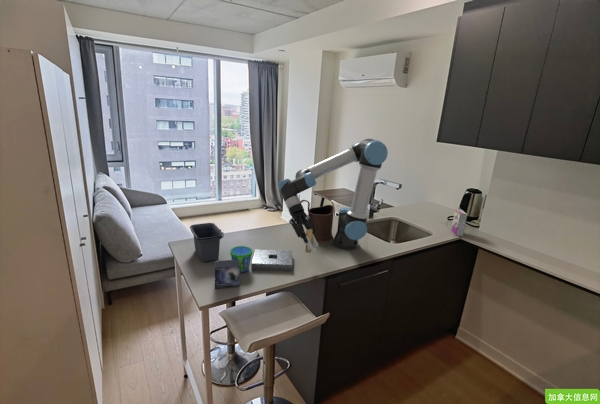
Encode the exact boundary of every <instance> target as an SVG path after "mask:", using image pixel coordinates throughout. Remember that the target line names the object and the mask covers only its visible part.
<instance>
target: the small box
mask: <svg viewBox="0 0 600 404" xmlns="http://www.w3.org/2000/svg"><path fill="white" fill-rule="evenodd" d="M237 287H238V288H239V287H240V264H239V260H232V259H229V260H227V259H226V260H216V261H215V260H214V288H215V289H216V290H217V289H226V288H227V289H228V288H230V289H231V288H237Z"/></svg>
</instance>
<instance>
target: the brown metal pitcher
mask: <svg viewBox="0 0 600 404" xmlns="http://www.w3.org/2000/svg"><path fill="white" fill-rule="evenodd" d="M300 202H301V204H302V203H303V202H307V215H311V216H312V221H313V223H314V226H315V229H316V232H315V233H314V235H315V237H316V241H317V243H328V242H331V241H332V240H334V236H333V232H332V231H333V222H334V212H335V207H334V206H333V205H331V204H326V205H323V206H317V207H315V206H314V207H311V208H310V206H311V205H310V204H311V203H310V201H309V200H306V199H302V200H300Z"/></svg>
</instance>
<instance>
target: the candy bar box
mask: <svg viewBox="0 0 600 404" xmlns="http://www.w3.org/2000/svg"><path fill="white" fill-rule="evenodd" d="M467 218H468V213H466V212H465V211H464V210H463V209H459V208H456V209H454V213H453V219H452V224H451V231H453V232H454V233H455V234H456V235H460V236H459V237H464V233H465V228H466V224H467V223H466V222H467ZM453 232H452V233H453ZM454 233H453V234H454ZM455 234H454V235H455ZM456 235H455V236H456Z"/></svg>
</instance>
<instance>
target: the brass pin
mask: <svg viewBox="0 0 600 404" xmlns="http://www.w3.org/2000/svg"><path fill="white" fill-rule="evenodd" d="M305 231H306V232H305V234H306V236H308V238H309V240H310V242H311V244H312V245H313V243H312V232H313V229H311V228H307V229H306V230H305ZM312 250H313V248H311V249H310V250H309V249H308V246H307V244H306V243H305V251H304V252H305V253H307V254H311V253H312Z"/></svg>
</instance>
